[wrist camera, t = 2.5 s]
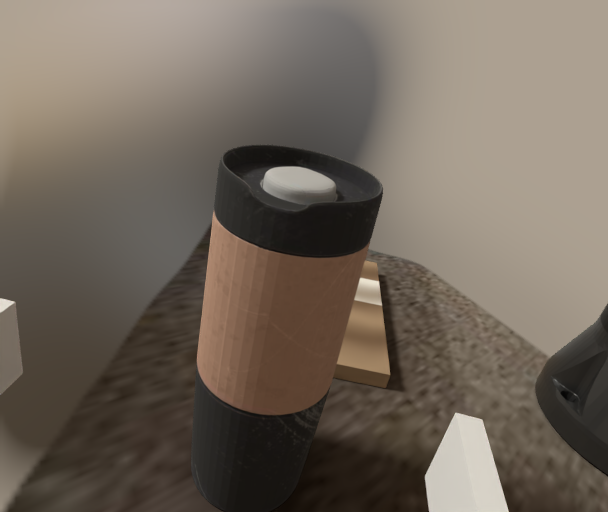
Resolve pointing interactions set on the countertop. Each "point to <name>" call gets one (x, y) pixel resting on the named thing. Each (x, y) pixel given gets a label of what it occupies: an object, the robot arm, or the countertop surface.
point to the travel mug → (274, 316)
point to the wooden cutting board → (365, 335)
